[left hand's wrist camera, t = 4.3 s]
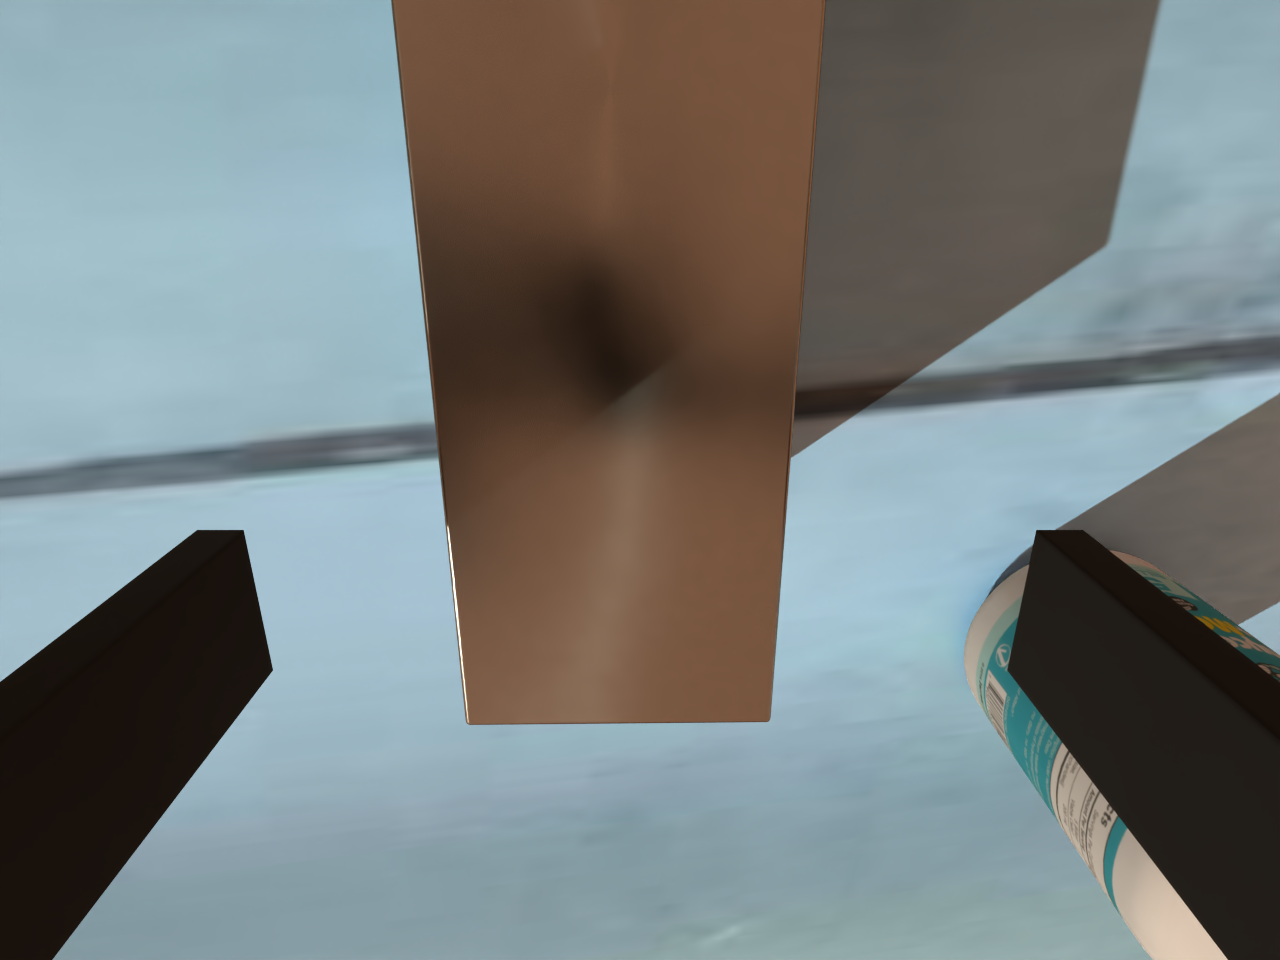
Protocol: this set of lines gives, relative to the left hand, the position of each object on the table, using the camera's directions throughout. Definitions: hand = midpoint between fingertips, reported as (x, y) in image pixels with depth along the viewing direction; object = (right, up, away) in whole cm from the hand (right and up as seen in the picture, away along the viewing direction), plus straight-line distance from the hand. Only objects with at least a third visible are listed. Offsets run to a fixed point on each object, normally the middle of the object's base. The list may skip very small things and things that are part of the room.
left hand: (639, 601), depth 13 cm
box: (-1, +12, +8) cm, 14 cm away
